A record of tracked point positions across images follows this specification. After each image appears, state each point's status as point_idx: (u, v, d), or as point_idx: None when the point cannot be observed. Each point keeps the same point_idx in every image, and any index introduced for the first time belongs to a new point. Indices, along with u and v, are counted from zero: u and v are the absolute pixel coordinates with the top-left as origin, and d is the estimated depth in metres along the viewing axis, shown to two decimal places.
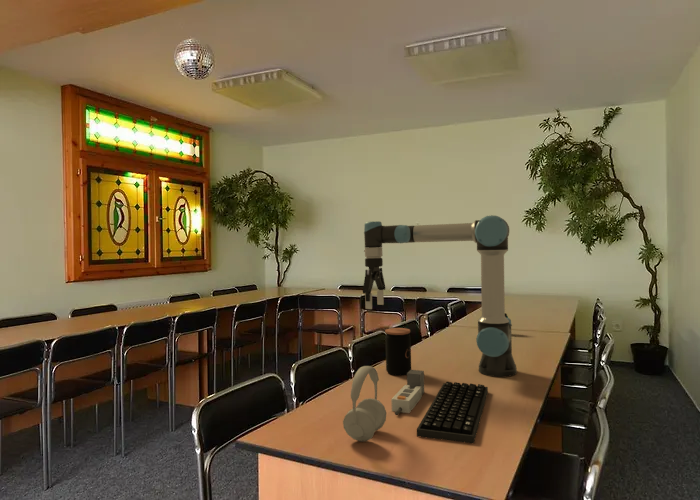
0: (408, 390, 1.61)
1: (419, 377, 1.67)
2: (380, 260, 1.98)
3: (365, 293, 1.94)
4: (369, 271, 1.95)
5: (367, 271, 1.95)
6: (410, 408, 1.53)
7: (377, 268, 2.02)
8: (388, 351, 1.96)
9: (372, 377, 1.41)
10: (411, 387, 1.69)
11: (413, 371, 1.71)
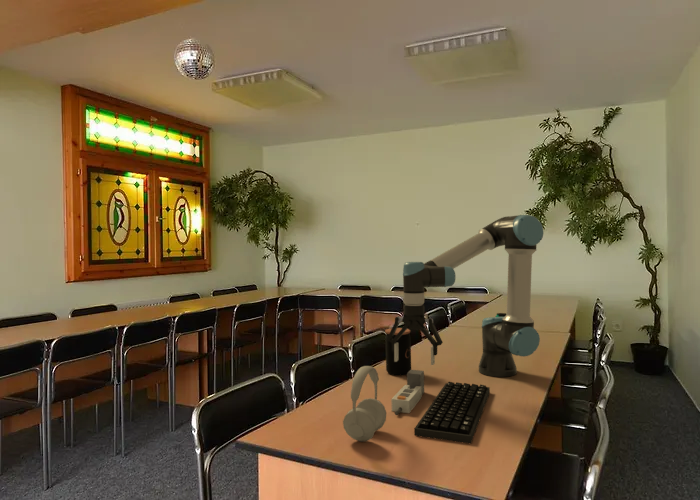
0: (408, 390, 1.61)
1: (419, 377, 1.67)
2: (408, 308, 1.67)
3: None
4: None
5: None
6: (410, 408, 1.53)
7: (416, 318, 1.69)
8: (388, 351, 1.96)
9: (372, 377, 1.41)
10: (411, 387, 1.69)
11: (413, 371, 1.71)
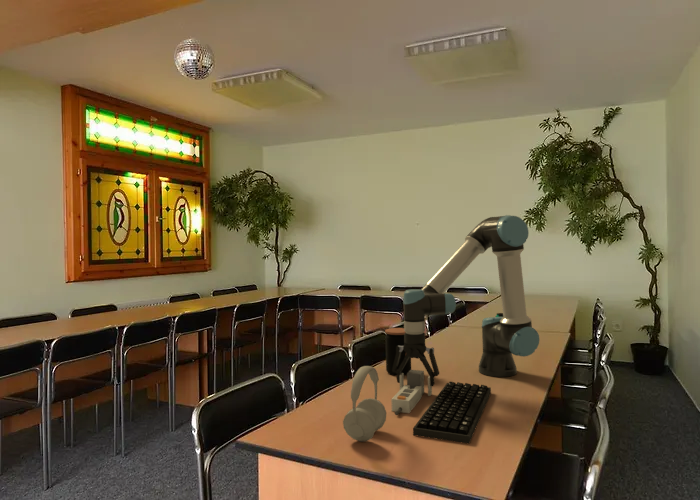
0: (408, 390, 1.61)
1: (419, 377, 1.67)
2: (408, 337, 1.67)
3: None
4: None
5: None
6: (410, 408, 1.53)
7: (417, 346, 1.69)
8: (388, 351, 1.96)
9: (372, 377, 1.41)
10: (411, 387, 1.69)
11: (413, 371, 1.71)
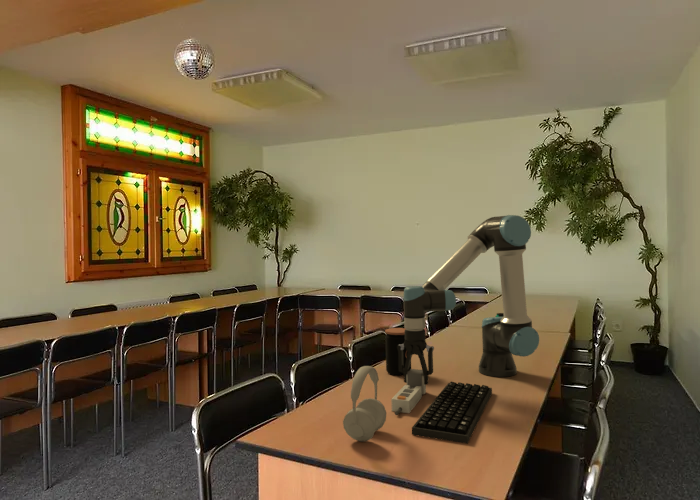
0: (408, 390, 1.61)
1: (419, 376, 1.68)
2: (409, 334, 1.68)
3: None
4: None
5: None
6: (410, 408, 1.53)
7: (418, 342, 1.69)
8: (388, 351, 1.96)
9: (372, 377, 1.41)
10: (411, 386, 1.69)
11: (413, 370, 1.72)
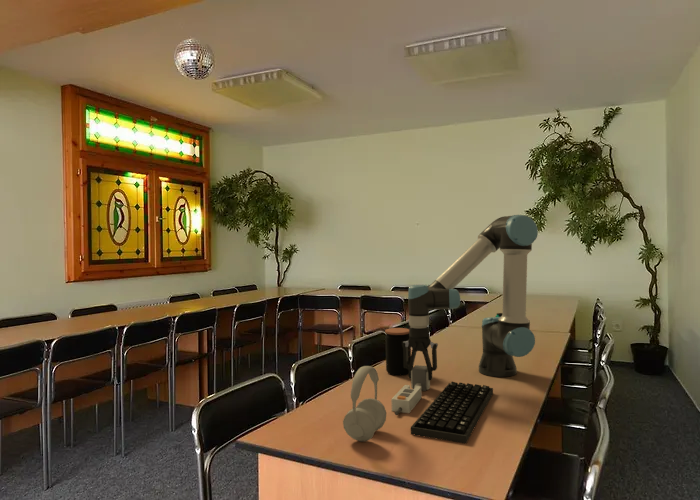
0: (408, 390, 1.61)
1: (424, 372, 1.73)
2: (413, 331, 1.73)
3: None
4: None
5: None
6: (410, 408, 1.53)
7: (422, 339, 1.74)
8: (388, 351, 1.96)
9: (372, 377, 1.41)
10: (416, 382, 1.74)
11: (418, 366, 1.77)
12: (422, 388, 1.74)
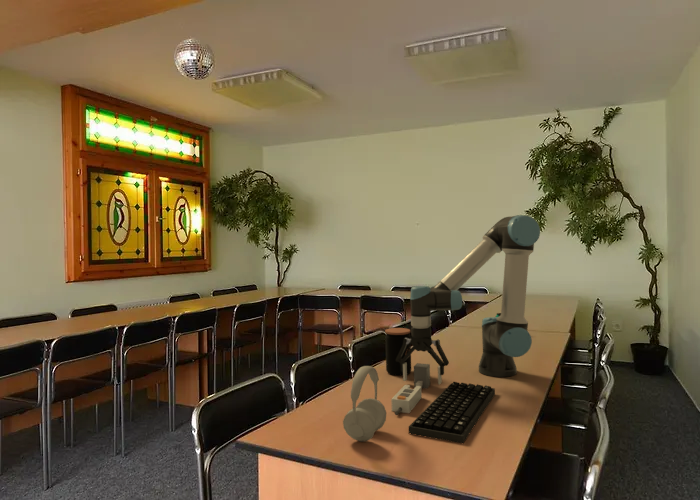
0: (408, 390, 1.61)
1: (425, 370, 1.76)
2: (415, 331, 1.76)
3: None
4: None
5: None
6: (410, 408, 1.53)
7: (424, 339, 1.78)
8: (388, 351, 1.96)
9: (372, 377, 1.41)
10: (418, 379, 1.77)
11: (419, 364, 1.80)
12: (423, 386, 1.77)
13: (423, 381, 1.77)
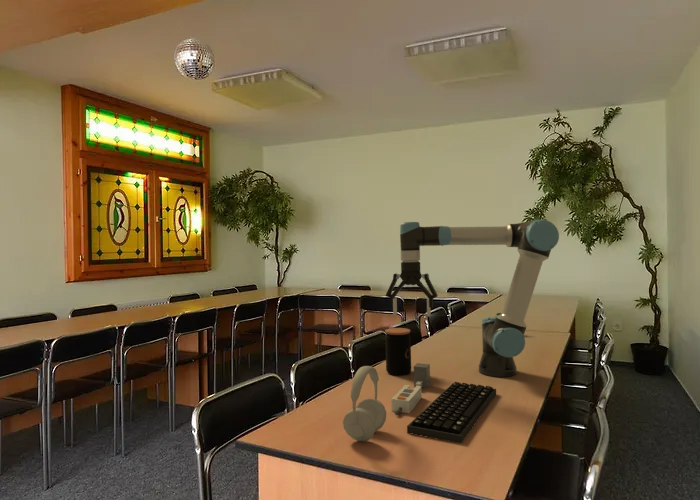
0: (408, 390, 1.61)
1: (425, 370, 1.76)
2: (405, 265, 1.81)
3: None
4: None
5: None
6: (410, 408, 1.53)
7: (413, 273, 1.82)
8: (388, 351, 1.96)
9: (372, 377, 1.41)
10: (418, 379, 1.77)
11: (419, 364, 1.80)
12: (423, 386, 1.77)
13: (423, 381, 1.77)
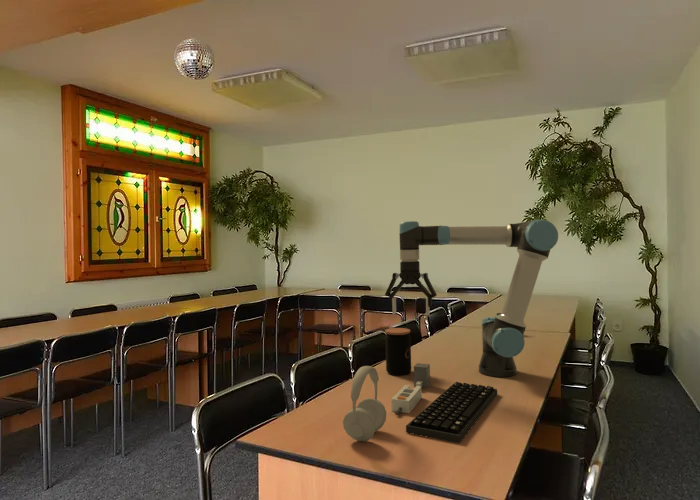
0: (408, 390, 1.61)
1: (425, 370, 1.76)
2: (404, 264, 1.81)
3: None
4: None
5: None
6: (410, 408, 1.53)
7: (412, 273, 1.83)
8: (388, 351, 1.96)
9: (372, 377, 1.41)
10: (418, 379, 1.77)
11: (419, 364, 1.80)
12: (423, 386, 1.77)
13: (423, 381, 1.77)
